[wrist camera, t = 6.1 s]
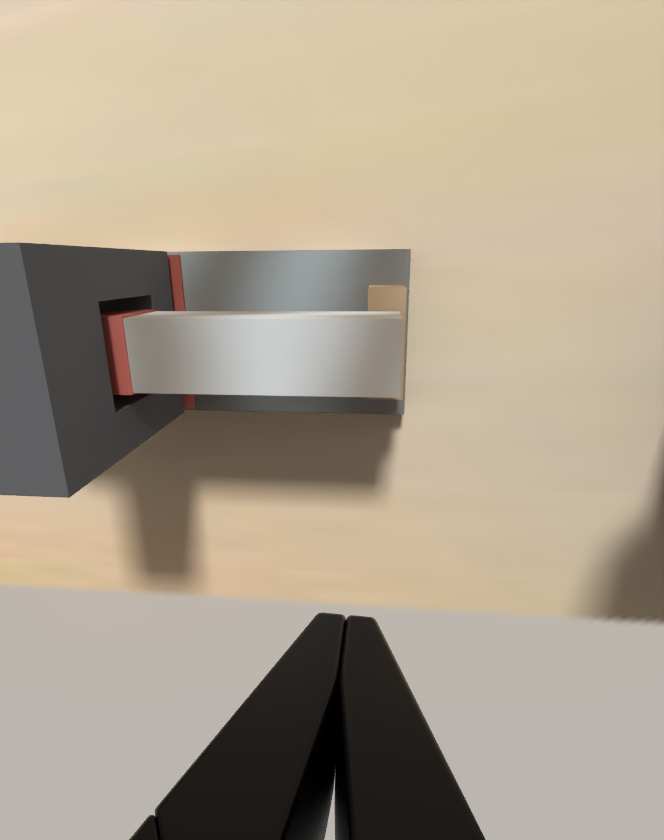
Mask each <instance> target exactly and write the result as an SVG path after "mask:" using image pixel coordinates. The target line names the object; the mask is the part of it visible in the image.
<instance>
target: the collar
mask: <svg viewBox="0 0 664 840" xmlns="http://www.w3.org/2000/svg"><path fill="white" fill-rule="evenodd" d="M99 309H119V310H158V311H173V303H172V294H171V285H170V275H169V266H168V257H167V252H164V251H147V250H131V249H114V248H98V247H82V246H65V245H49V244H32V243H0V495H17V496H42V497H67V498H69V497H71V496H72V495H73V494H75V493H76V492H77V491H79V490H80V489H81V488H83V487H84V486H85V485H87V484H88V483H89V482H91V481H92V480H93V479H95V478H96V477H97V476H99V475H100V474H102V473H103V472H104V471H106V470H107V469H108V468H110V467H111V466H112V465H114V464H115V463H116V462H118V461H119V460H120V459H122V458H123V457H124V456H126V455H127V454H128V453H130V452H131V451H132V450H134V449H135V448H136V447H138V446H139V445H140V444H142V443H143V442H144V441H146V440H147V439H148V438H150V437H151V436H152V435H154V434H155V433H156V432H158V431H159V430H160V429H162V428H163V427H164V426H166V425H167V424H169V423H170V422H171V421H173V420H174V419H175V418H177V417H178V416H179V415H181V414H182V413H183V412H184V406H183V396H182V394H156V393H136V394H134V395H113V394H112V388H111V381H110V375H109V368H108V362H107V355H106V349H105V342H104V336H103V329H102V323H101V316H100V310H99Z"/></svg>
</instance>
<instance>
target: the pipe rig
mask: <svg viewBox="0 0 664 840" xmlns="http://www.w3.org/2000/svg"><path fill="white" fill-rule="evenodd" d="M410 252H411V249H385V250H296V251H207V252H167V257H168V266H169V275H170V285H171V294H172V303H173V311H158V310H119V309H99V310H100V316H101V323H102V329H103V336H104V342H105V349H106V355H107V362H108V368H109V375H110V381H111V388H112V394H113V395H134V394H136V393H156V394H182V396H183V406H184V410H226V411H274V412H321V413H368V414H404V401H405V376H406V351H407V327H408V302H409V277H410Z"/></svg>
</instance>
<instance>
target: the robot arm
mask: <svg viewBox="0 0 664 840" xmlns="http://www.w3.org/2000/svg"><path fill="white" fill-rule="evenodd" d="M335 770H336V771H335ZM334 779H335V840H485V838H484V836H483V834H482V832H481V830H480V828H479V826H478V824H477V822H476V820H475V818H474V816H473V814H472V812H471V810H470V808H469V806H468V804H467V802H466V800H465V798H464V796H463V794H462V792H461V790H460V788H459V786H458V784H457V782H456V780H455V778H454V776H453V774H452V772H451V770H450V768H449V766H448V764H447V762H446V760H445V758H444V756H443V754H442V752H441V750H440V748H439V746H438V744H437V742H436V740H435V738H434V736H433V734H432V732H431V730H430V728H429V726H428V724H427V722H426V720H425V718H424V716H423V714H422V712H421V710H420V708H419V706H418V704H417V702H416V700H415V698H414V696H413V694H412V692H411V690H410V688H409V686H408V684H407V682H406V679H405V677H404V676H403V673H402V672H401V669H400V667H399V666H398V664H397V661H396V659H395V657H394V656H393V654H392V651H391V650H390V647H389V645H388V644H387V641H386V639H385V637H384V636H383V633H382V631H381V630H380V627H379V626H378V623H377V622H376V620H375V619H374V618H372V617H364V616H354V615H353V616H352V615H351V616H349V617H347V619H346V618H345V616H344V615H341V614H331V613H319V614H317V615H316V616H315V617H314V619H313V620H312V621H311V622H310V624H309V625H308V626H307V627H306V628H305V630H304V631H303V632H302V633H301V634H300V635H299V637H298V638H297V639H296V640H295V641H294V643H293V644H292V645H291V646H290V647H289V649H288V650H287V651H286V652H285V654H284V655H283V656H282V657H281V658H280V660H279V661H278V662H277V663H276V664H275V666H274V667H273V668H272V669H271V670H270V672H269V673H268V674H267V675H266V676H265V678H264V679H263V680H262V681H261V682H260V684H259V685H258V686H257V687H256V688H255V690H254V691H253V692H252V693H251V694H250V696H249V697H248V698H247V699H246V700H245V702H244V703H243V704H242V705H241V706H240V708H239V709H238V710H237V711H236V712H235V714H234V715H233V716H232V717H231V719H230V720H229V721H228V722H227V723H226V725H225V726H224V727H223V728H222V729H221V731H220V732H219V733H218V734H217V735H216V736H215V738H214V739H213V740H212V741H211V743H210V744H209V745H208V746H207V747H206V749H205V750H204V751H203V752H202V753H201V755H200V756H199V757H198V758H197V759H196V761H195V762H194V763H193V764H192V765H191V767H190V768H189V769H188V770H187V771H186V773H185V774H184V775H183V776H182V777H181V779H180V780H179V781H178V782H177V784H176V785H175V786H174V787H173V788H172V789H171V791H170V792H169V793H168V794H167V796H166V797H165V798H164V799H163V800H162V802H161V803H160V804H159V805H158V806H157V808H156V810H155V816H154V815H150V816H149V817H148V818H147V819H146V820H145V821H144V823H143V824H142V825H141V826H140V827H139V829H138V830H137V831H136V832H135V833H134V835H133V836H132V837H131V838H130V839H129V840H324V838H325V832H326V828H327V822H328V817H329V812H330V806H331V800H332V794H333V787H334ZM155 817H156V818H155Z"/></svg>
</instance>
